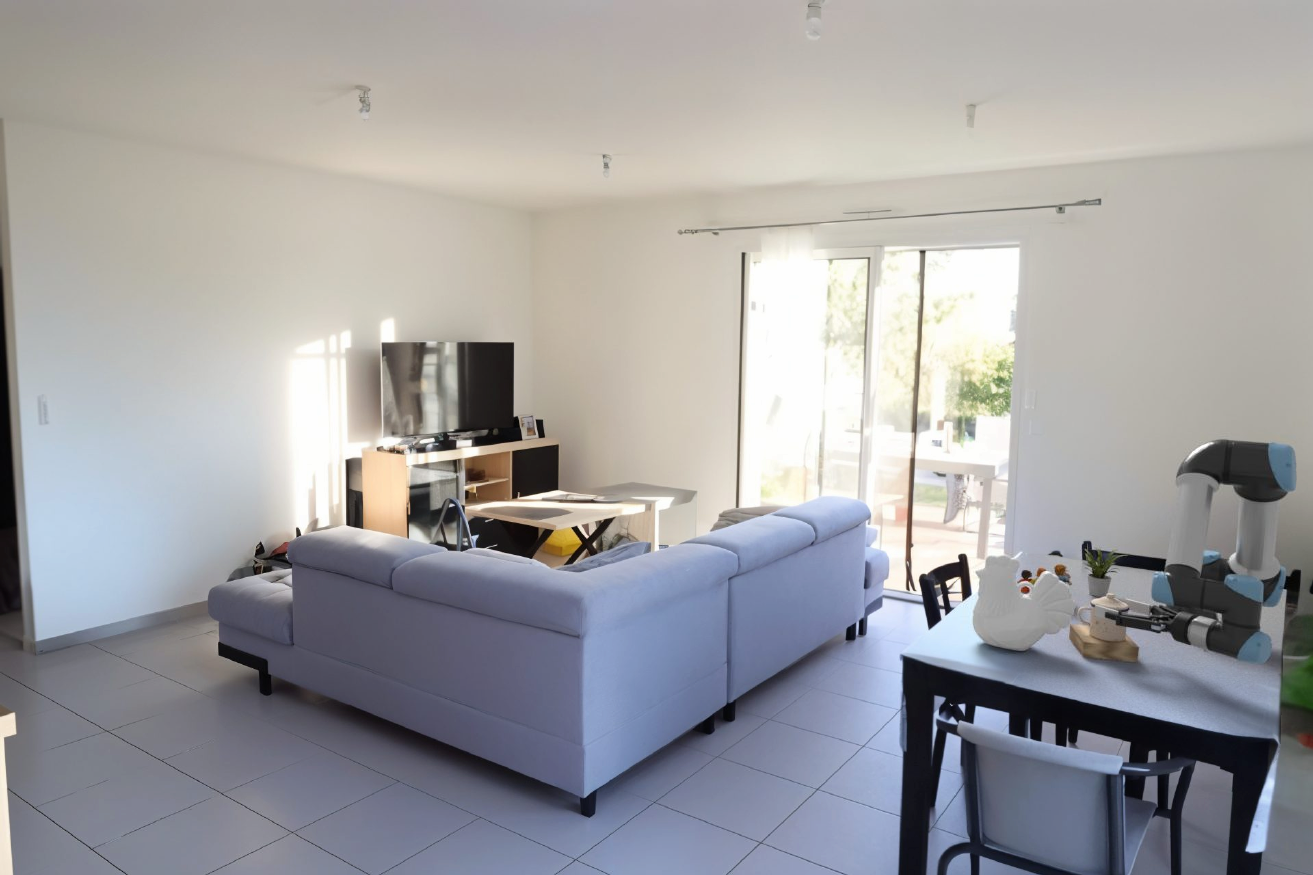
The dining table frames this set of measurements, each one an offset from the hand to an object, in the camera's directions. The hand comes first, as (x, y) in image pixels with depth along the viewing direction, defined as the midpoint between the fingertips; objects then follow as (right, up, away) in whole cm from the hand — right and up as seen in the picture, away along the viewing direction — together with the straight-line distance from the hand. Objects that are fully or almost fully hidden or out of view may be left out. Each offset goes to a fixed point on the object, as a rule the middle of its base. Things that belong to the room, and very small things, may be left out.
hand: (1110, 606), depth 226 cm
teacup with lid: (-2, -8, +2) cm, 9 cm away
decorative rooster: (-23, -12, +2) cm, 26 cm away
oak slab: (-1, -12, +3) cm, 12 cm away
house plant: (+27, -8, +56) cm, 63 cm away
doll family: (+3, -8, +43) cm, 43 cm away
